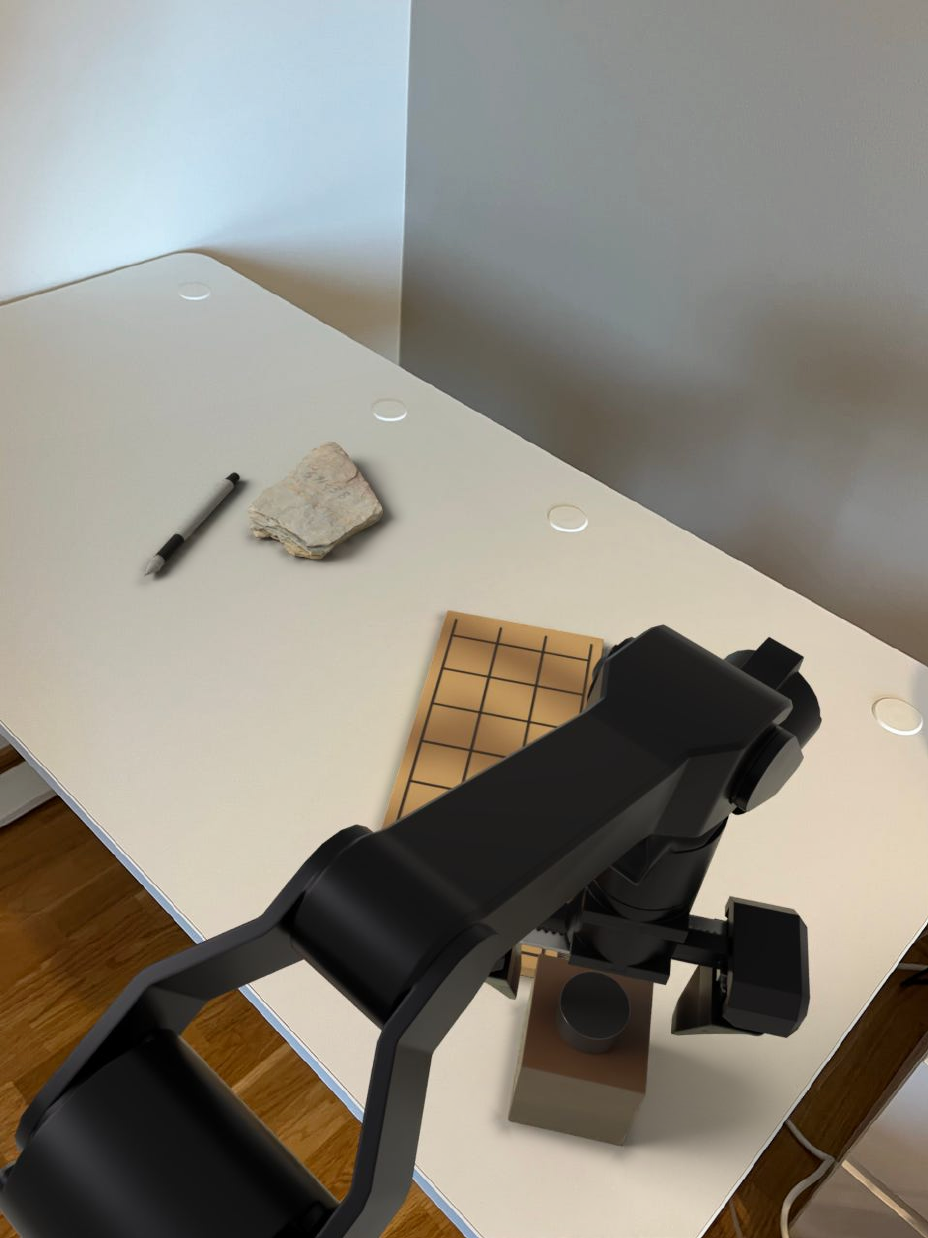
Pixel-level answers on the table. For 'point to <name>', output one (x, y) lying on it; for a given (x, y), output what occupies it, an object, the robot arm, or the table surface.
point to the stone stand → (579, 1063)
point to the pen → (192, 524)
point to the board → (489, 707)
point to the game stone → (592, 1012)
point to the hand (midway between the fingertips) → (593, 1008)
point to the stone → (316, 504)
